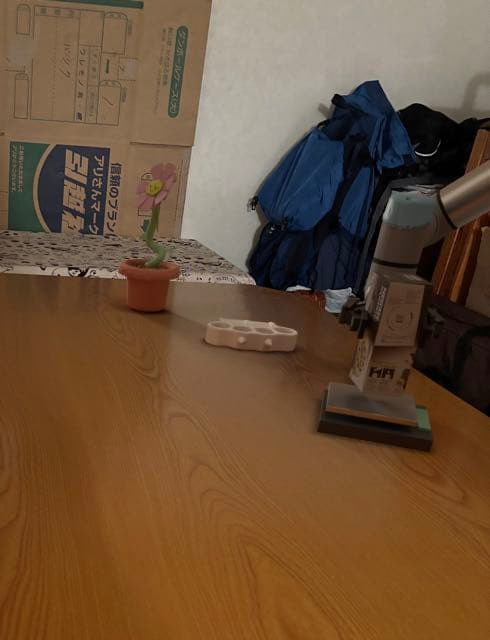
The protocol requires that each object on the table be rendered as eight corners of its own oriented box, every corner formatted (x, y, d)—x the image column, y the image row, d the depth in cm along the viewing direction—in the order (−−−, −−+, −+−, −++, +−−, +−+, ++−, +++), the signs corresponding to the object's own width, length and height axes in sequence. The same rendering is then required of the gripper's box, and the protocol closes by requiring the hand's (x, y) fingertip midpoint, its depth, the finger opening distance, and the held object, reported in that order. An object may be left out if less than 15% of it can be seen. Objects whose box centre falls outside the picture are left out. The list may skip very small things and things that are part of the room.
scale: (422, 416, 125) (426, 403, 124) (429, 452, 112) (434, 437, 111) (322, 399, 129) (325, 386, 128) (317, 431, 115) (320, 417, 114)
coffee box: (404, 398, 114) (437, 285, 106) (360, 394, 114) (389, 280, 106) (388, 379, 122) (417, 272, 114) (347, 375, 122) (373, 268, 114)
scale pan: (411, 402, 123) (413, 395, 123) (415, 429, 112) (418, 421, 112) (328, 388, 126) (329, 381, 126) (324, 413, 115) (326, 405, 115)
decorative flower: (101, 301, 179) (113, 156, 164) (151, 298, 185) (167, 159, 170) (134, 317, 167) (151, 164, 153) (186, 314, 174) (207, 167, 159)
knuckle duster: (284, 336, 163) (300, 356, 151) (200, 329, 163) (208, 349, 150) (288, 320, 162) (304, 339, 149) (202, 313, 161) (211, 331, 148)
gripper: (446, 334, 128) (461, 372, 109) (320, 315, 132) (312, 348, 113) (461, 288, 124) (479, 318, 105) (331, 270, 129) (325, 296, 109)
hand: (392, 333), depth 109 cm, fingers closed on coffee box, 8 cm apart
